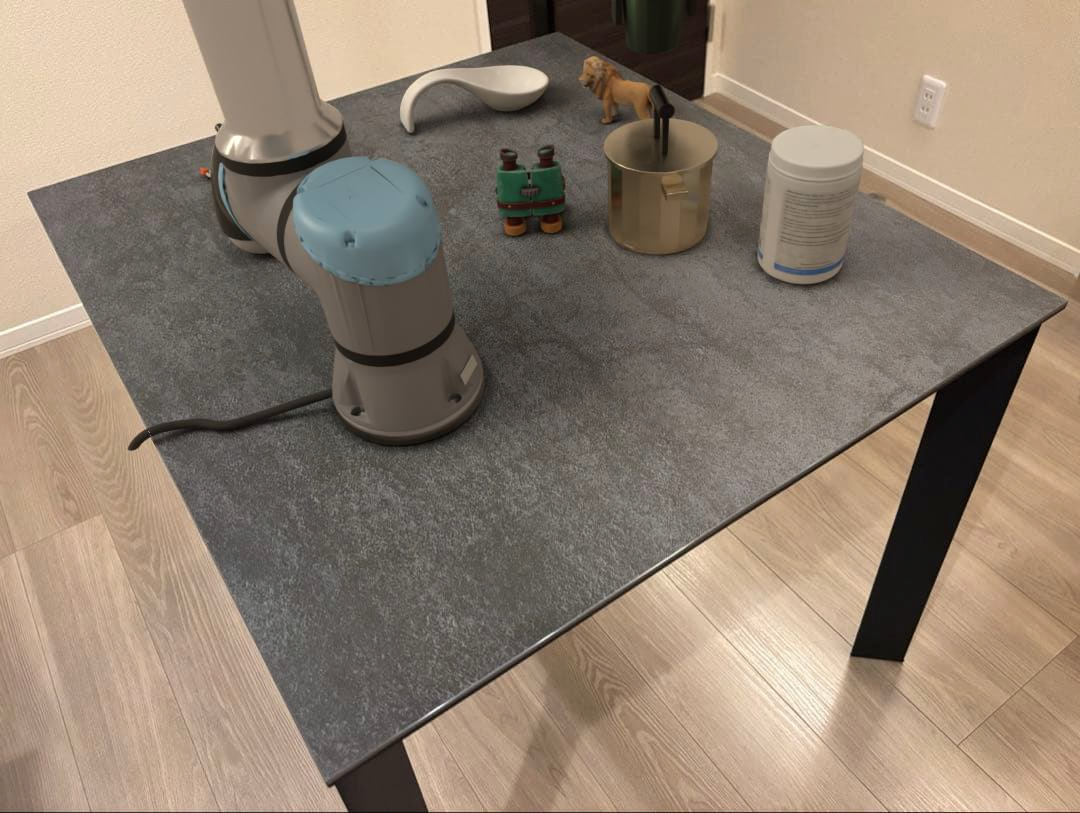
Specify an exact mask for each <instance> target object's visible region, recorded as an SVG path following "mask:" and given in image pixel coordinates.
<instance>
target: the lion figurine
mask: <svg viewBox="0 0 1080 813" xmlns="http://www.w3.org/2000/svg"><path fill="white" fill-rule="evenodd" d="M582 70H583V71H582V74H581V75H580V76H579V77H578V81H579V83H581V85H582V86H581V87H582V88H583V89H588V90H589V92H591V93H592V94H594V95H595V98H596V99H597V100H600V101H602V104H603V109H604V113H605V117H603V118H602V119H601V122H602V124H609V123H611V122H612V120H613V117H615V116H617V115H618V114H619V106H620V105H621V106H623V107H633V106H634V111H635V112H636V115H637V116H638V118H639V119H640V120H645V119H654V115H653V113H654V104H653V102H652V100H651V98H650V96H649V91H650V89H651V88H652V86H650V85H649V84H648V83H647V82H639V81H633V80H629V79H627V78H625V77H624V76H623V75H622V74H621V72H620V70H619V69H618V68H617V67H616V66H615V65H613V64H612V63H611V62H610V61H609V60H607V59H604V58H602V57H599V56H594V55H592V56H589V57H587V58H586V59H584V60H583V68H582ZM652 112H653V113H652Z"/></svg>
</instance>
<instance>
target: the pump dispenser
mask: <svg viewBox="0 0 1080 813" xmlns="http://www.w3.org/2000/svg"><path fill="white" fill-rule="evenodd" d="M222 124H223V123H220V122H218V123H216V124H215V125H214V130H215V132H216V133H217V132H218V131H219V129H220V127H221V126H222ZM220 163H222V161H221V158H220V156H219V153H218V150H217V147H216V143H215V142H214V143H213V146H212V150H211V156H210V170H211V178H210V184H211V185H210V186H211V194H213V195H212V201H213V206H214V211H215V214H216V219H217V222H218V225H219V228H220V230H221V232H222V233H223V234H224V235H225V236H226V237H228V239H229V241H231V243H233V245H235V246H236V247H238V248H239V249H240V250H243V251H245V252H247V253H251V254H260V255H263V254H264V255H265V254H270V253H269V252H268V251H267V250H266V249H264V248H263V247H262V246H261V245H259V244H258V243H256V242H255V241H253V240H252V239H251V238H249V237H248V236H247V235H246V234H245V233H244V232H243V231H242V230H241V229H240V228H239V227H238V225H237V224H236V223H235V221H234V220H233V218H232V216H231V215H230V214H229V212H228V210H227V209H226V207H225V204H224V202H223V200H222V197H221V193H220V189H219V181H218V173H219V166H220Z"/></svg>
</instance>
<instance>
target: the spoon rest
mask: <svg viewBox="0 0 1080 813" xmlns="http://www.w3.org/2000/svg"><path fill="white" fill-rule="evenodd" d="M549 82H550V79H549V77H548V76H547V75H546V73H544V72H543V71H542V70H539V69H537V68H534V67H531V66H524V65H516V64H515V65H513V64H507V65H493V66H484V67H483V66H482V67H458V68H457V67H456V68H455V67H454V68H453V67H451V68H443V69H437V70H432V71H430V72H426V73H425V74H423V75H422V76H419V77H418V78H417V79H415V81H413V82H412V83H411V84H410V85H409V87H408V88H407V89H406V91H405V92H404V94H403V96H402V100H401V103H400V108H399V117H400V122H401V125H403V127H404V129H406V131H407V132H408V133H409V134H412V133H414V131H415V117H414V116H415V115H414V114H415V107H416V104H417V102H418V100H419V98H421V96H422V95H423V94H425V92H427V91H428V90H430V89H431V88H433V87H435V86H438V85H441V84H442V85H443V84H450V85H455V86H458V87H461V88H462V89H463V90H465V91H467V92H468V93H469V94H471V95H473V96H474V97H476V99H478V100H479V101H481V102H482V103H484V104H485V105H487V106H489V107H490V108H492V109H493V110H495V111H500V112H515V111H520V110H522V109H524V108H526V107H527V106H529V105H532V104H533V103H535V102H536V101H537V100H539V98H541V96H542V95H543V94H544V93H545V91H546V90H547V88H548V86H549Z"/></svg>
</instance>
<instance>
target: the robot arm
mask: <svg viewBox="0 0 1080 813" xmlns="http://www.w3.org/2000/svg"><path fill="white" fill-rule="evenodd" d="M181 2H182V4H183V7H184V10H185V13H186V15H187V16H186V17H187V19H188V22H189V24H190V28H191V30H192V32H193V35H194V38H195V41H196V43H197V46H198V49H199V52H200V55H201V57H202V61H203V63H204V65H205V69H206V71H207V74H208V77H209V79H210V82H211V86H212V88H213V91H214V94H215V96H216V99H217V102H218V105H219V107H220V110H221V113H222V116H223V119H224V121H223V122H222V123H221V124H222V126H221V127H220V129H219V131H218V132H216V135H215V137H214V138H215V139H214V143H216V147H217V150H218V153H219V156H220V158H221V161H222V163H220V166H219V173H218V181H219V189H220V193H221V197H222V200H223V202H224V204H225V207H226V209H227V210H228V212H229V214H230V215H231V216H232V218H233V220H234V221H235V223H236V224H237V225H238V227H239V228H240V229H241V230H242V231H243V232H244V233H245V234H246V235H247V236H248V237H249V238H251V239H252V240H253V241H255V242H256V243H258V244H259V245H261V246H262V247H263V248H264V249H266V250H267V251H268V252H269V253H268V254H271V256H273V257H274V258H275V259H276V260H277V261H279V263H281V264H282V265H283V266H284V267H286V268H287V269H288V270H289V271H291V272H292V273H293V274H294V275H295V276H296V277H298V278H299V279H300V280H301V281H302V282H304V283H305V284H306V285H307V286H308V287H309V288H310V289H311V290H312V291H314V292H315V294H316V295H317V297H318V300H319V301H320V303H321V306H322V309H323V312H324V315H325V318H326V321H327V325H328V328H329V331H330V334H331V336H332V340H333V343H334V346H335V348H334V349H335V350H334V359H333V360H334V361H333V373H332V384H331V388H327V389H323V390H321V391H317V392H314V393H311V394H308V395H305V396H302V397H299V398H295V399H293V400H292V399H291V400H289V401H287V402H283V403H281V404H277V405H275V406H272V407H269V408H266V409H263V410H259V411H256V412H253V413H250V414H247V415H244V416H241V417H237V418H233V419H227V420H214V419H209V418H202V417H200V418H199V417H197V418H186V419H178V420H172V421H167V422H166V421H165V422H162V423H158V424H154V425H151V426H149V427H147V428H145V429H143V430H141V431H140V432H139V433H138V434H136V436H134V437H133V439H131V441H130V443H129V444H128V447H127V450H128V452H129V451H130V452H132V451H136V450H138V449H139V448H140V447H141V446H142V444H144V443H145V442H146V441H147V440H149V439H150V438H152V437H154V436H157V435H160V434H163V433H167V432H173V431H179V430H188V429H196V428H200V429H201V428H202V429H207V430H213V431H228V430H234V429H238V428H241V427H246V426H248V425H251V424H255V423H258V422H261V421H265V420H268V419H270V418H273V417H276V416H279V415H282V414H285V413H288V412H291V411H294V410H297V409H299V408H304V407H307V406H310V405H314V404H315V403H319V402H322V401H325V400H329V399H331V398H332V401H333V404H334V408H335V411H336V413H337V415H338V417H339V419H340V422H341V423H342V424H343V426H344V427H345V428H346V429H347V430H348V431H350V432H351V433H352V434H353V435H355V436H357V437H359V438H360V439H362V440H365V441H368V442H371V443H374V444H379V445H386V446H408V445H415V444H421V443H424V442H428V441H431V440H434V439H437V438H440V437H442V436H444V435H446V434H448V433H450V432H452V431H454V430H455V429H456V428H458V427H459V426H461V425H462V424H463V423H464V422H466V421H467V420H468V419H469V418H470V417H471V416H472V415H473V414H474V412H475V411H476V409H477V408H478V407H479V405H480V404H481V401H482V399H483V397H484V394H485V387H486V379H485V373H484V367H483V361H482V359H481V357H480V355H479V353H478V351H477V350H476V349H475V347H474V346H473V344H472V343H471V341H470V339H469V337H468V336H467V334H466V333H465V331H464V330H463V328H462V327H461V325H460V323H459V322H458V320H457V318H456V315H455V310H454V303H453V298H452V292H451V285H450V280H449V274H448V270H447V263H446V259H445V258H446V257H445V253H444V252H445V251H444V247H443V241H442V226H441V220H440V217H439V215H438V210H437V208H436V207H435V204H434V200H433V197H432V193H431V191H430V190H429V187H428V185H427V184H426V182H425V181H424V179H423V178H422V177H420V176H419V174H418V173H416V171H414V170H413V169H412V168H410V167H408V166H407V165H404V164H403V163H401V162H398V161H396V160H392V159H389V158H386V157H379V158H377V159H376V160H372V159H371V157H370V156H368V155H366V156H364V155H363V156H362V155H361V156H353V154H352V151H351V147H350V142H349V137H348V133H347V130H346V126H345V123H344V119H343V116H342V113H341V111H340V110H338V108H337V107H335V106H334V105H331V103H328V102H326V101H325V100H323V99H321V97H320V94H319V90H318V86H317V83H316V80H315V75H314V72H313V68H312V65H311V60H310V57H309V52H308V49H307V46H306V42H305V38H304V35H303V31H302V27H301V23H300V20H299V16H298V12H297V9H296V4H295V1H294V0H181ZM697 4H698V3H697V0H686V1H685V8H684V12H686V14H687V15H688V17H696V15H697ZM611 18H612V21H613V23H614V25H615V26H623V0H611ZM148 431H149V432H150V433H149V432H148ZM150 435H151V436H150Z"/></svg>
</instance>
